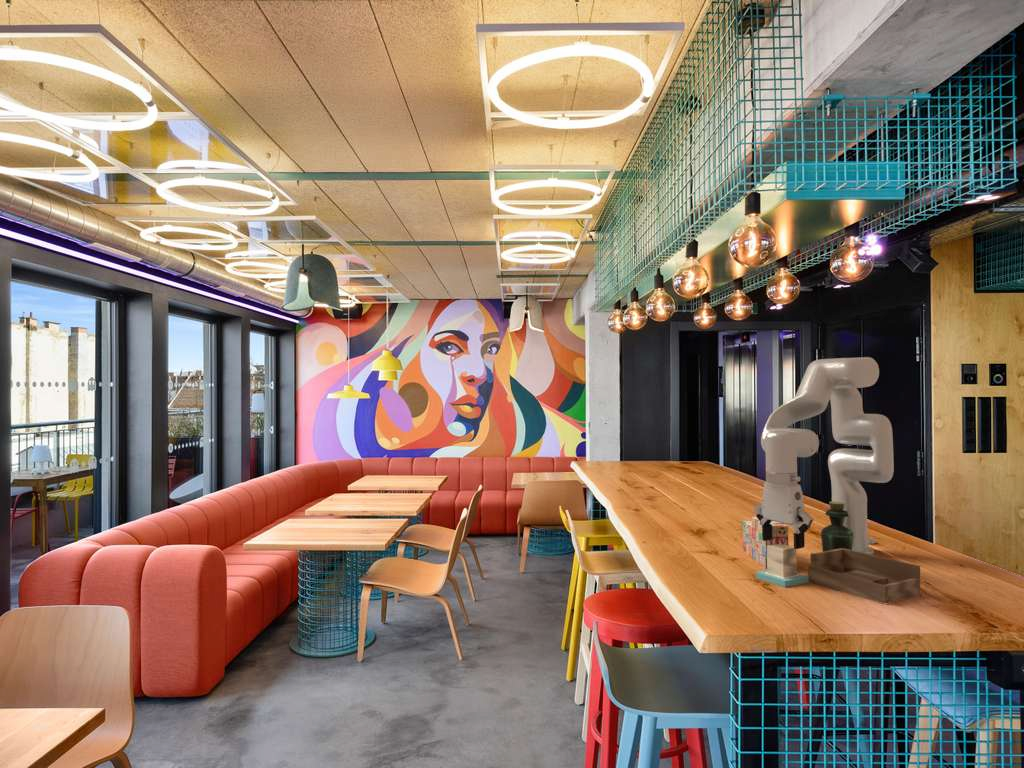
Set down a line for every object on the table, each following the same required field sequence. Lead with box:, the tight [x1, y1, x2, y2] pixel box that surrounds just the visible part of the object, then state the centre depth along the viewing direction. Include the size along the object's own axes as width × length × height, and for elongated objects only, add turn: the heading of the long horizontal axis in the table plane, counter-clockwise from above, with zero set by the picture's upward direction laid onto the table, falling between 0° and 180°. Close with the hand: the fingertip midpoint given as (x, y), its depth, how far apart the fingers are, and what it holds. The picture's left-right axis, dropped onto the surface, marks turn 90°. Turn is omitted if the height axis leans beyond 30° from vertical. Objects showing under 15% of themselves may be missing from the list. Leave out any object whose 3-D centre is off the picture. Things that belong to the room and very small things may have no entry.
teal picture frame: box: [755, 569, 810, 588], centre depth 163 cm, size 9×9×2 cm
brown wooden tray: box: [807, 548, 921, 604], centre depth 156 cm, size 14×20×7 cm
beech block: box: [766, 544, 798, 578], centre depth 163 cm, size 5×5×7 cm
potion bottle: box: [820, 501, 853, 552], centre depth 175 cm, size 8×8×18 cm
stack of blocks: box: [742, 516, 789, 570], centre depth 184 cm, size 21×6×12 cm, turn 176°
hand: (782, 543), depth 164 cm, fingers open, 9 cm apart
